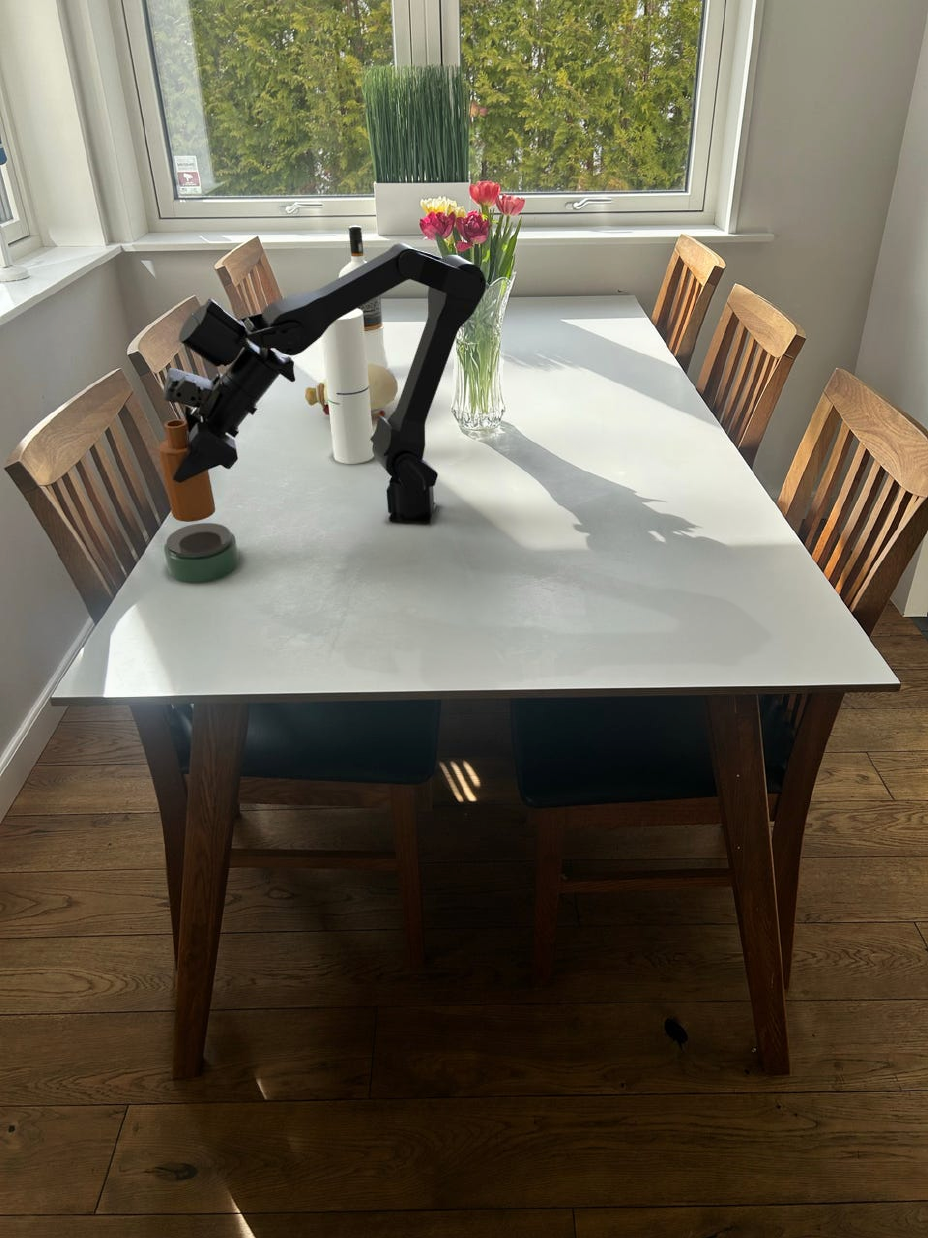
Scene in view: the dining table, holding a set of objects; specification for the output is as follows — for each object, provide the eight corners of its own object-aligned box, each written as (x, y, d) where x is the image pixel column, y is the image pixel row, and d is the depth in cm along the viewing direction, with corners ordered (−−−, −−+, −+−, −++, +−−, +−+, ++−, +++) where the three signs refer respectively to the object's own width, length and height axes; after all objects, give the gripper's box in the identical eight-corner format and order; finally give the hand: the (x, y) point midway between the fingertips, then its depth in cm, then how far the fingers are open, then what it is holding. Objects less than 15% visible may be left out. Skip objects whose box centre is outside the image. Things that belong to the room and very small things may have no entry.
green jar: (249, 550, 140) (244, 523, 138) (224, 585, 132) (219, 557, 130) (185, 546, 142) (179, 519, 139) (157, 580, 134) (150, 553, 131)
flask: (409, 422, 180) (315, 438, 176) (391, 394, 192) (304, 408, 189) (403, 375, 174) (307, 390, 171) (386, 349, 187) (296, 363, 184)
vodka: (370, 363, 209) (358, 219, 192) (397, 373, 203) (388, 225, 187) (337, 374, 204) (322, 226, 187) (364, 384, 198) (351, 233, 181)
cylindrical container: (367, 465, 164) (355, 320, 151) (328, 462, 166) (312, 318, 152) (379, 448, 170) (368, 307, 156) (341, 446, 171) (327, 306, 158)
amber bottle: (221, 503, 138) (205, 415, 130) (205, 523, 133) (187, 432, 125) (183, 501, 139) (164, 414, 131) (165, 520, 134) (145, 431, 126)
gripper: (189, 328, 131) (125, 413, 135) (194, 370, 116) (122, 465, 120) (255, 376, 137) (191, 457, 141) (268, 423, 122) (196, 512, 126)
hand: (175, 471), depth 132 cm, fingers closed on amber bottle, 6 cm apart
